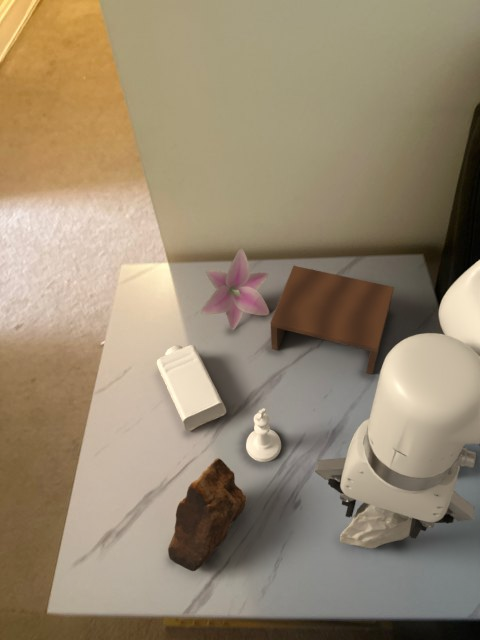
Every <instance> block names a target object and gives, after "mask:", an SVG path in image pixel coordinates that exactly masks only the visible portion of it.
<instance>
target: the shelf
mask: <svg viewBox="0 0 480 640" xmlns="http://www.w3.org/2000/svg"><path fill="white" fill-rule="evenodd" d="M394 290H395V287H394V286H391V285H387V284H382V283H378V282H372V281H368V280H363V279H359V278H354V277H350V276H349V277H348V276H344V275H339V274H335V273H330V272H325V271H320V270H317V269H311V268H306V267H303V266H302V267H301V266H298V265H292V268H291V270H290V274H289V275H288V279H287V281H286V283H285V286H284V288H283V291H282V293H281V296H280V298H279V301H278V303H277V304H276V305H277V306H276V308H275V310H274V313H273V315H272V317H271V320H270V340H271V341H270V343H271V350H274V351H279V348H280V346H281V342H282V341H283V338H284V335H285V332H286V331H288V332H292V333H296V334H301V335H304V336H309V337H313V338H317V339H320V340H325V341H329V342H333V343H337V344H341V345H346V346H349V347H353V348H358V349H361V350H365V351H366V350H367V351H369V355H368V360H367V365H366V370H365V373H366V374H368V375H373V374H374V370H375V366H376V362H377V359H378V356H379V355H378V354H379V351H380V347H381V343H382V339H383V336H384V331H385V327H386V324H387V320H388V315H389V312H390V307H391V303H392V299H393V293H394Z"/></svg>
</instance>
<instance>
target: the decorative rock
mask: <svg viewBox="0 0 480 640" xmlns="http://www.w3.org/2000/svg"><path fill="white" fill-rule="evenodd" d="M236 484H237V483H236V477H235V473H234V472H233V470H231V468H230V467H229V466H228V465H227V464H226V463H225V462H224V461H223V460H222V459H221V458H215V459H214V461H212V463H211V464H210V465H208V466H207V468H206V469H205V470H203V471H202V473H201V475H200V476H199V477H198V478H197V479H196V480H194V481H192V482H191V483H190V484H189V486H188V488H187V492H186V496H185V497H184V498H183V499H182V500H181V501H180V502H179V503H178V505H177V507H176V511H175V523H174V533H173V535H172V538H171V541H170V543H169V546H168V548H167V551H168V557H169V559H170V560H171V561H172V562H173V563H175V564H176V565H178V566H180V567H182V568H184V569H186V570H187V571H191V572H196V571H197V570H198V569H200V568H201V567H202V566H203V565H204V564H206V562H207V561H208V560H209V559H210V557H211V556H212V555H213V554H214V552H215V550H216V549H218V548H219V547H220V546H221V545H222V544H223V542H224V540H225V539H227V536H228V533H229V530H230V528H231V525H232V524H233V523H234V522H236V521H237V519H238V518H239V516H240V515H242V513H243V512H244V510H245V507H246V502H247V499H248V498H247V495H245V494H244V493H243V490H242V489H241V488H240V487H238V485H236Z"/></svg>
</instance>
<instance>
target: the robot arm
mask: <svg viewBox="0 0 480 640" xmlns="http://www.w3.org/2000/svg"><path fill="white" fill-rule="evenodd" d="M438 320H439V324H440V328H441V330H442V332H443V333H437V332H436V333H435V332H432V333H431V332H427V333H426V332H425V333H419V334H418V333H417V334H415V335H411V336H408V337H406V338H404V339H403V340H401V341H400V342H398V343H397V344H395V345H394V346H393V347H392V349H390V351H389V352H388V353H387V354H386V356H385V358H384V360H383V364H382V366H381V369H380V371H379V376H378V381H377V384H376V390H375V394H374V397H373V401H372V407H371V410H370V415H369V418H367V419H365V420H364V421H363V422H362V423H361V424H360V425H359V426H358V427H357V429H356V430H355V432H354V434H353V436H352V437H351V438H352V439H351V441H350V444H349V446H348V450H347V452H346V457H337V458H336V457H335V458H327V459H319V460H318V461H317V463H316V467H315V470H314V471H315V473H316V474H317V475H318V476H320V477H321V478H322V479H324V481H327V485H328V486H330V488H332V489H334V490H335V491H336V492H337V493H339V494H340V495H339V499H340V500H341V505H342V506H345V507H347V508H346V512H345V517H346V518H349V519H350V518H353V514H354V511H355V507H356V503H357V501H358V502H361V503H367V504H370V505H373V506H376V507H380V508H383V509H386V510H389V511H392V512H395V513H399V514H402V515H405V516H408V517H409V518H412V522H411V527H410V533H409V536H408V537H410V538H411V539H414V540H416V539H417V538H418V537H419V534H420V532H421V531H423V532H426V531H427V529H434V527H435V524H452V523H454V520H455V521H457V522H464V521H466V522H469V521H473V520H474V514H475V507H474V505H472V504H471V503H470V502H469V501H468V500H466V499H465V498H464V497H463V496H461V495H460V494H459V493H458V492H456V490H455V489H456V485H457V482H458V481H457V480H458V477H459V473H460V468H463V467H467V468H470V469H473V468H474V466H475V463H476V459H477V458H476V457H477V452H475V451H472V450H468V448H467V447H465V445H479V444H480V259H478V261H476V262H475V263H474V264H472V265H471V266H470V267H469V268H467V270H465V271H464V272H463V273H462V274H461V275H460V276H459V277H458V278H457V279H456V280H455V281H454V282H453V283H452V284H451V285H450V287H449V288H448V289H447V291H446V292H445V294H444V295H443V297H442V299H441V301H440V304H439V308H438Z"/></svg>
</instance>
